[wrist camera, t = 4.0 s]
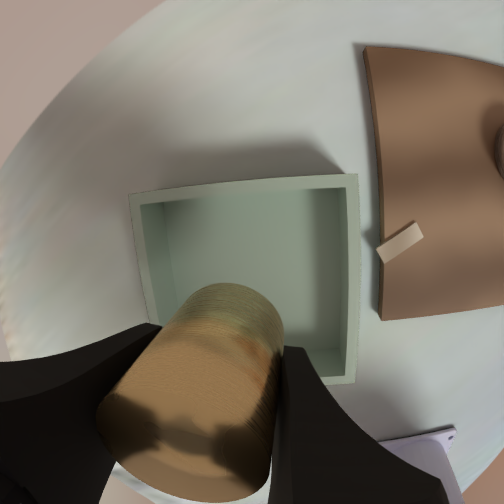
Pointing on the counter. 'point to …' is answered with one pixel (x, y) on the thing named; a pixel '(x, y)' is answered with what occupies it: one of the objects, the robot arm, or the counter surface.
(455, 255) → the crank base
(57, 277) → the counter surface
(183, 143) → the counter surface
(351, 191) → the tray
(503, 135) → the crank
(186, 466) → the pin
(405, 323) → the counter surface
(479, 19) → the counter surface
